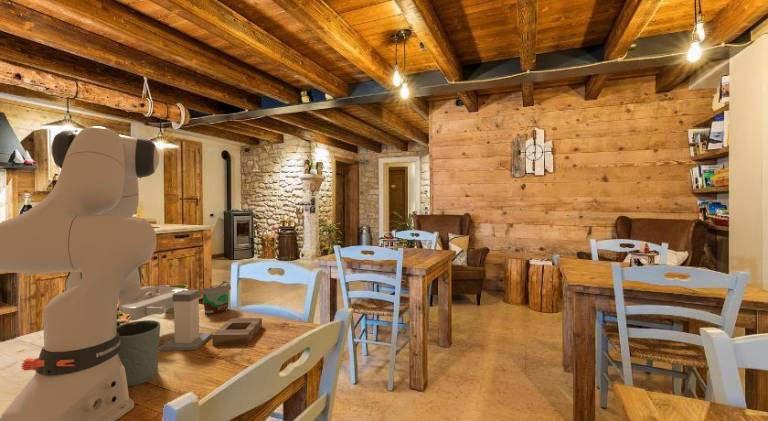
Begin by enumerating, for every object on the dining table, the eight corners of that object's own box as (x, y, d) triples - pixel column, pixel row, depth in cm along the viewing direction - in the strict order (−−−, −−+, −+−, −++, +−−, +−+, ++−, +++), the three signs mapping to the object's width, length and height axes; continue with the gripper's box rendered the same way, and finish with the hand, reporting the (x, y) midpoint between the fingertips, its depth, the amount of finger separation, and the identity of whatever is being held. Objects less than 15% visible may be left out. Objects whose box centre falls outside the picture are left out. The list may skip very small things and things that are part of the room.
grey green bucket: (152, 363, 92) (151, 317, 92) (168, 376, 86) (167, 326, 85) (103, 379, 84) (102, 328, 84) (117, 394, 78) (115, 339, 77)
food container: (217, 317, 127) (216, 289, 127) (202, 316, 129) (201, 288, 128) (238, 307, 139) (237, 281, 139) (224, 306, 141) (223, 280, 140)
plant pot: (179, 314, 130) (178, 290, 130) (153, 314, 131) (152, 290, 130) (193, 306, 140) (192, 284, 139) (169, 306, 140) (168, 284, 140)
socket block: (247, 344, 104) (247, 334, 104) (212, 345, 103) (212, 334, 103) (261, 327, 118) (261, 318, 118) (230, 327, 117) (230, 318, 117)
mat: (196, 349, 100) (196, 346, 100) (159, 350, 100) (159, 347, 100) (212, 336, 110) (212, 332, 110) (178, 336, 110) (178, 333, 110)
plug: (191, 343, 102) (190, 294, 102) (173, 343, 103) (172, 294, 102) (200, 336, 107) (199, 289, 107) (183, 336, 108) (182, 289, 107)
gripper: (107, 300, 100) (144, 305, 96) (170, 283, 119) (204, 286, 115) (107, 323, 100) (145, 328, 96) (171, 302, 120) (204, 306, 116)
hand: (177, 305), depth 106 cm, fingers open, 8 cm apart
